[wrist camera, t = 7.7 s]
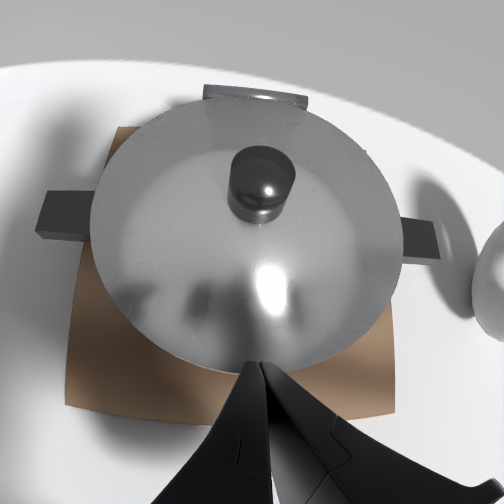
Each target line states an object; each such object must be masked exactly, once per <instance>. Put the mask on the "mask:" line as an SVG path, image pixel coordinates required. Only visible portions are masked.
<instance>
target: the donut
mask: <svg viewBox="0 0 504 504" xmlns="http://www.w3.org/2000/svg"><path fill="white" fill-rule="evenodd" d="M472 307H473V310H474V314H475V317H476V320H477V322H478V323H479V325H480V326H481V327H482V329H483V330H484V332H485V333H486V334H488V335H489V336H491V337H493V338H495V339H497V340H499V341H503V342H504V222H502V223H501V224H500V225H499V226H498V227H497V228H496V229H495V230H494V231H493V233H492V234H491V236H490V237H489V238H488V240H487V241H486V243H485V245H484V247H483V249H482V251H481V253H480V255H479V257H478V261H477V264H476V267H475V270H474V275H473V281H472Z"/></svg>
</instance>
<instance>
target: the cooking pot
mask: <svg viewBox="0 0 504 504" xmlns="http://www.w3.org/2000/svg"><path fill="white" fill-rule="evenodd" d="M94 194H95V191H47V194H46V197H45V200H44V203H43V206H42V209H41V212H40V215H39V219H38V222H37V226H36V229H35V231H36V232H37V233H38V234H39V235H40V236H41V237H42V238H43V239H53V240H67V241H81V242H91V238H90V216H91V207H92V202H93V198H94ZM400 219H401V224H402V230H403V258H402V263H405V264H420V265H432V264H433V263H435V262H437V261H438V260H440V255H439V250H438V244H437V240H436V235H435V230H434V226H433V222H430V221H424V220H418V219H411V218H405V217H400Z"/></svg>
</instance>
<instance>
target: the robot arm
mask: <svg viewBox="0 0 504 504" xmlns="http://www.w3.org/2000/svg"><path fill="white" fill-rule="evenodd" d="M271 472H272V476H273V480H274V483H275V487H276V491H277V495H278V498H279V502H280V504H494V503H495V502H497V501H498V500H499V499H500V498H502V497H503V496H504V488H503V486H502V485H501V484H500V483H499V482H498V481H497V480H496V479H495V478H492V479H489V480H487V481H485V482H484V483H482V484H480V485H478V486H475V487H467V486H464V485H461V484H459V483H457V482H455V481H452V480H450V479H448V478H446V477H444V476H442V475H440V474H438V473H436V472H434V471H432V470H430V469H428V468H426V467H424V466H422V465H420V464H418V463H416V462H414V461H412V460H410V459H409V458H407V457H405V456H403V455H401V454H399V453H397V452H396V451H394V450H392V449H390V448H388V447H387V446H385V445H383V444H381V443H380V442H378V441H376V440H374V439H373V438H371V437H369V436H368V435H366V434H364V433H363V432H361V431H360V430H358V429H357V428H355V427H354V426H352V425H351V424H350V423H348V422H347V421H345V420H344V419H343V418H342V417H340V416H339V415H337V414H336V413H334V412H333V411H332V410H331V409H329V408H328V407H327V406H325V405H324V404H323V403H322V402H320V401H319V400H318V399H317V398H315V397H314V396H313V395H312V394H310V393H309V392H308V391H307V390H305V389H304V388H303V387H302V386H301V385H299V384H298V383H297V382H296V381H294V380H293V379H292V378H291V377H290V376H288V375H287V374H286V373H285V372H284V371H282V370H281V369H280V368H279V367H278V366H277V365H275V364H274V363H273V362H271V361H260V362H258V361H246V362H245V364H244V366H243V368H242V370H241V372H240V374H239V376H238V378H237V380H236V382H235V384H234V386H233V388H232V390H231V392H230V394H229V396H228V398H227V400H226V402H225V404H224V406H223V408H222V410H221V412H220V413H219V415H218V417H217V419H216V421H215V423H214V424H213V426H212V428H211V430H210V431H209V433H208V435H207V437H206V438H205V440H204V441H203V442H202V444H201V445H200V446H199V448H198V449H197V450H196V452H195V453H194V454H193V455H192V456H191V458H190V459H189V460H188V461H187V462H186V464H185V465H184V466H183V467H182V468H181V470H180V471H179V472H178V473H177V474H176V475H175V477H174V478H173V479H172V480H171V481H170V482H169V484H168V485H167V486H166V487H165V488H164V489H163V490H162V492H161V493H160V494H159V495H158V496H157V497H156V498H155V499H154V501H153V502H152V503H151V504H273V493H272V479H271Z"/></svg>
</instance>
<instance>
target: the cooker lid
mask: <svg viewBox="0 0 504 504" xmlns="http://www.w3.org/2000/svg"><path fill="white" fill-rule="evenodd" d="M307 106H308V96H304V95H298V94H292V93H285V92H278V91H271V90H263V89H254V88H245V87H235V86H223V85H208V84H204V89H203V100H200V101H196V102H191V103H188V104H185V105H182V106H179V107H176V108H174V109H172V110H170V111H167V112H165V113H163V114H161V115H159V116H157V117H156V118H154V119H152V120H151V121H149V122H147V123H146V124H145V125H143V126H142V127H141V128H139V129H138V130H137V131H136V132H134V133H133V134H132V135H131V136H130V137H129V138H128V139H127V140H126V141H125V142H124V143H123V144H122V145H121V146H120V147H119V149H118V150H117V151H116V152H115V154H114V155H113V156H112V158H111V159H110V161H109V162H108V164H107V166H106V168H105V169H104V171H103V173H102V175H101V177H100V180H99V182H98V185H97V187H96V190H95V194H94V198H93V202H92V207H91V216H90V238H91V248H92V252H93V256H94V260H95V264H96V268H97V270H98V273H99V275H100V277H101V280H102V282H103V284H104V287H105V288H106V290H107V292H108V293H109V295H110V297H111V298H112V300H113V301H114V303H115V304H116V306H117V307H118V309H119V310H120V311H121V312H122V313H123V314H124V316H125V317H126V318H127V319H128V320H129V321H130V322H131V323H132V325H133V326H134V327H136V328H137V329H138V330H139V331H140V332H141V333H143V334H144V335H145V336H146V337H147V338H149V339H150V340H151V341H152V342H153V343H155V344H156V345H157V346H159V347H161V348H162V349H164V350H166V351H167V352H169V353H171V354H172V355H174V356H176V357H177V358H180V359H182V360H184V361H187V362H189V363H192V364H194V365H196V366H199V367H202V368H205V369H209V370H213V371H218V372H222V373H226V374H236V375H239V374H240V372H241V370H242V368H243V366H244V364H245V362H246V361H258V362H260V361H271V362H273V363H274V364H275V365H277V366H278V367H279V368H280V369H281V370H282V371H284V372H290V371H295V370H299V369H304V368H307V367H310V366H312V365H315V364H318V363H320V362H323V361H325V360H328V359H330V358H331V357H333V356H335V355H337V354H338V353H340V352H342V351H344V350H345V349H347V348H348V347H350V346H351V345H352V344H353V343H355V342H356V341H357V340H358V339H360V338H361V337H362V336H363V335H364V334H365V333H366V332H367V331H368V330H369V329H370V328H371V327H372V326H373V325H374V323H375V322H376V321H377V320H378V319H379V317H380V316H381V314H382V313H383V311H384V310H385V308H386V307H387V305H388V303H389V302H390V299H391V297H392V295H393V293H394V290H395V288H396V286H397V282H398V279H399V275H400V271H401V267H402V258H403V230H402V224H401V219H400V214H399V211H398V208H397V204H396V201H395V198H394V196H393V194H392V192H391V189H390V187H389V185H388V183H387V181H386V180H385V178H384V176H383V175H382V173H381V171H380V170H379V169H378V167H377V166H376V164H375V163H374V162H373V161H372V159H371V158H370V157H369V156H368V155H367V153H366V152H365V151H364V150H363V149H362V148H361V147H360V146H359V145H358V144H357V143H356V142H355V141H353V140H352V139H351V138H350V137H349V136H348V135H347V134H345V133H344V132H342V131H341V130H340V129H338V128H337V127H335V126H334V125H332V124H331V123H329V122H327V121H326V120H324V119H322V118H320V117H319V116H317V115H314V114H312V113H310V112H308V111H306V110H307Z"/></svg>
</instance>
